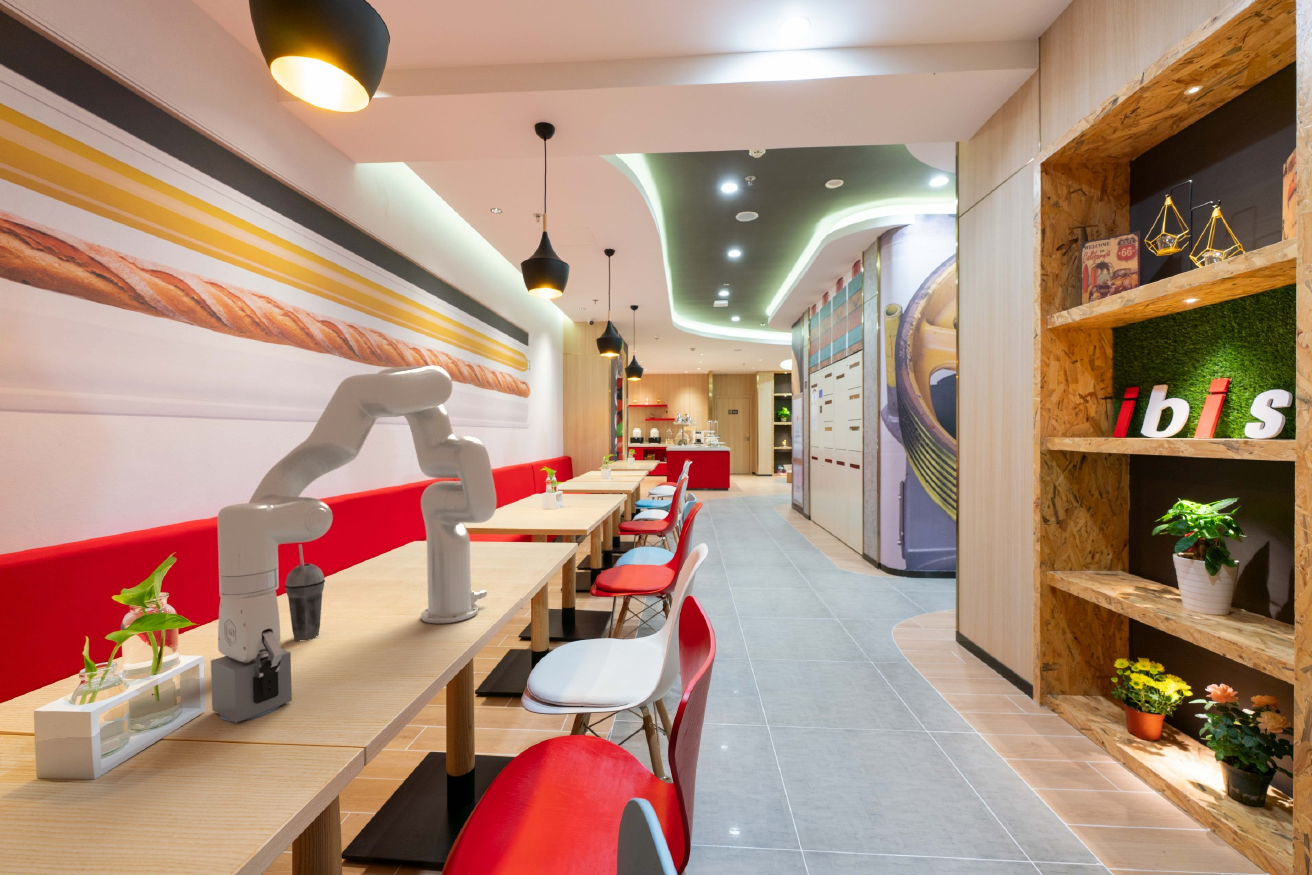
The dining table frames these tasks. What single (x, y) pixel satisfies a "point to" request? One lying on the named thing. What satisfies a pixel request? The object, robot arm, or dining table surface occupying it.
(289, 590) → the beverage cup
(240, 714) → the grey rectangular block
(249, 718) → the target spot
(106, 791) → the dining table surface
